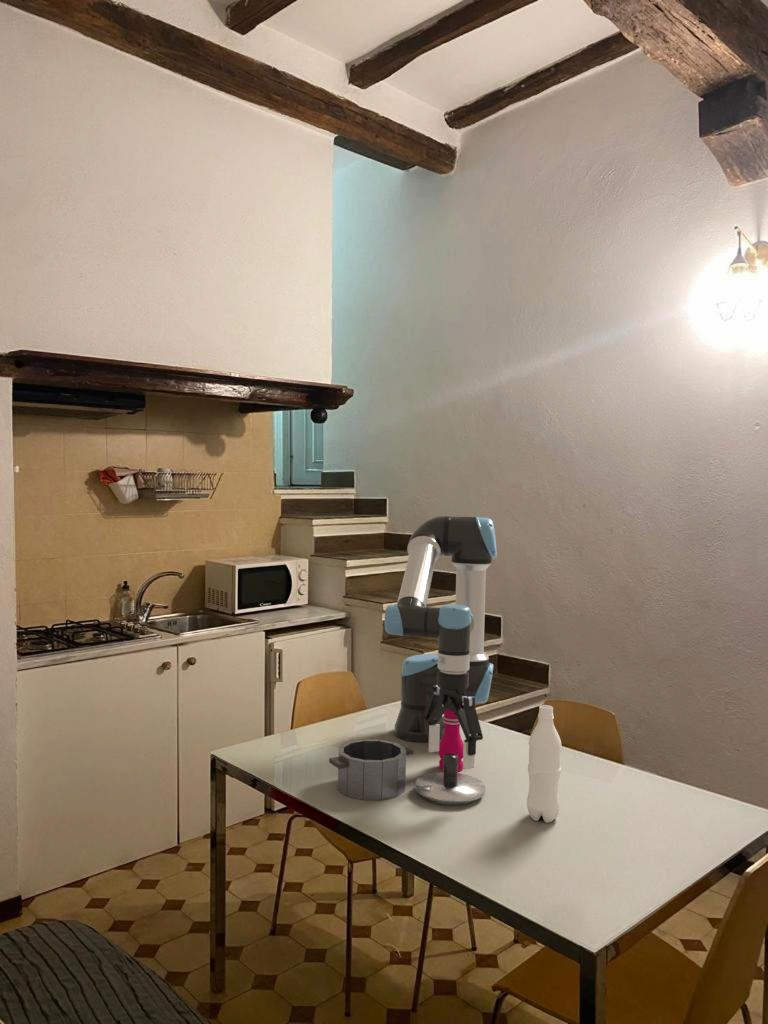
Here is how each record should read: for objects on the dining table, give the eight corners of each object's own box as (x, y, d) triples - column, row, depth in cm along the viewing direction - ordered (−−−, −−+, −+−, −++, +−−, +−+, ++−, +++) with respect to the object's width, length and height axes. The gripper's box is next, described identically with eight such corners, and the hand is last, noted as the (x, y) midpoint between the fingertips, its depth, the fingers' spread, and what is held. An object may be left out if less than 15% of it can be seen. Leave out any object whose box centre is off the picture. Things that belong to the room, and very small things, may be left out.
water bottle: (550, 827, 172) (554, 713, 171) (520, 818, 176) (524, 707, 175) (564, 817, 177) (568, 706, 177) (535, 808, 182) (538, 700, 181)
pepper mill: (464, 764, 210) (466, 689, 209) (464, 773, 203) (467, 696, 202) (437, 762, 211) (439, 687, 210) (436, 772, 203) (438, 695, 203)
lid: (456, 777, 200) (457, 740, 200) (499, 800, 186) (500, 760, 186) (401, 789, 192) (402, 751, 191) (442, 814, 178) (443, 772, 177)
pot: (389, 768, 205) (390, 734, 205) (425, 790, 191) (426, 753, 191) (317, 783, 194) (318, 747, 193) (350, 807, 180) (351, 768, 180)
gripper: (410, 662, 197) (408, 747, 197) (474, 683, 175) (471, 778, 176) (434, 659, 201) (432, 742, 201) (499, 680, 180) (497, 773, 180)
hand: (450, 759), depth 188 cm, fingers open, 13 cm apart
